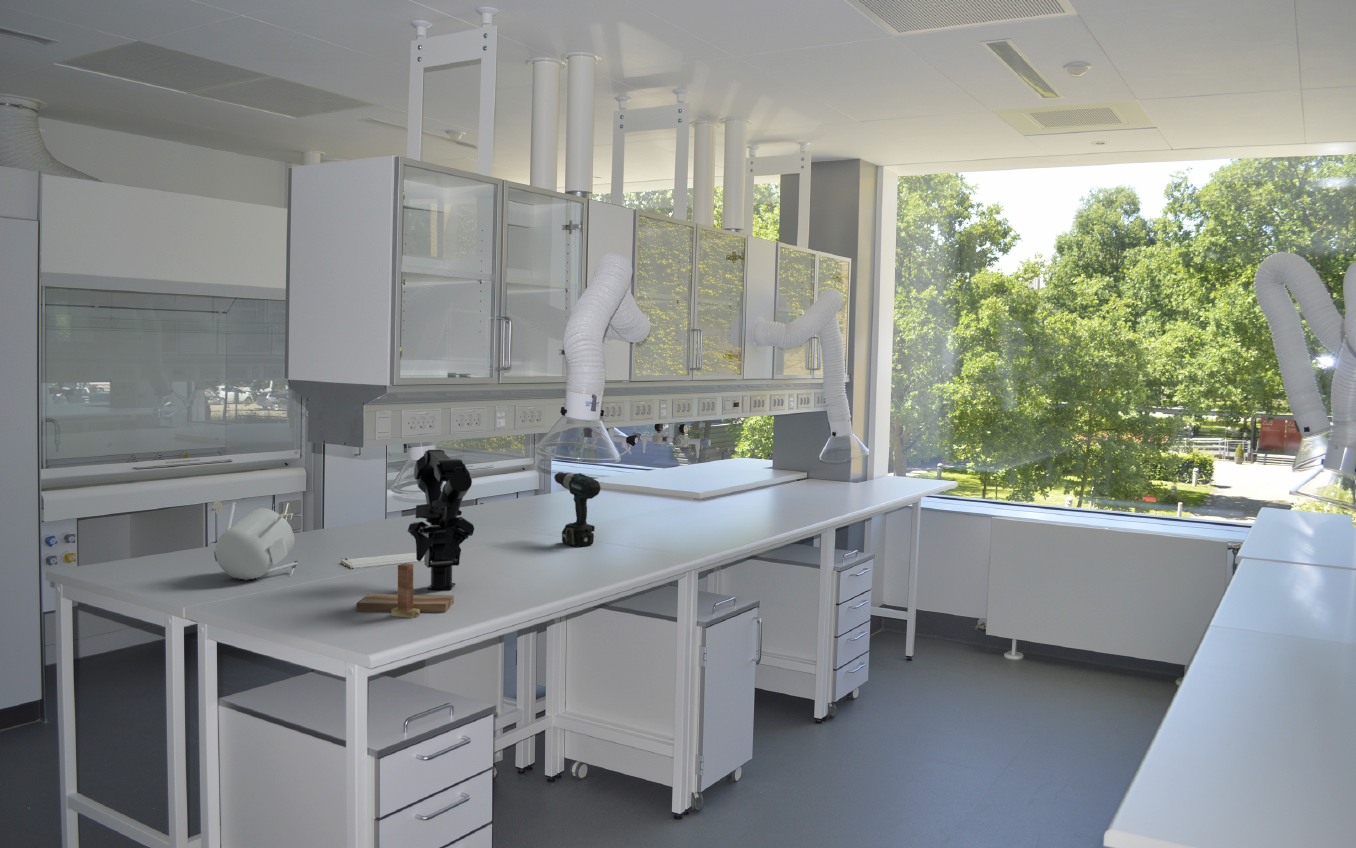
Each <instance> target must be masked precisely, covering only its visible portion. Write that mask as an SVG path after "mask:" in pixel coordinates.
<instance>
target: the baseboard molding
mask: <svg viewBox="0 0 1356 848" xmlns="http://www.w3.org/2000/svg"><path fill="white" fill-rule="evenodd" d="M424 556H425V555H424ZM340 562H343V563H344V564H345V565H344V564H343V565H344V566H346V565H347V566H349V567H350V568H349V567H348V568H349V569H351V568H356V569H361V568H360V567H366V568H375V567H374V566H376V567H384V565H385V566H393V565H400V564H402V563H406V564H414V563H423V562H424V557H423V558H422V560H421V561H418V560H417V557H416V552H411V553H410V552H409V553H400V554H399V553H398V554H388V555H378V556H367V557H359V558H358V557H357V558H346V557H345V558H343V559H341V560H340ZM424 563H425V562H424ZM347 566H346V567H347Z"/></svg>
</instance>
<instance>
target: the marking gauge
mask: <svg viewBox="0 0 1356 848" xmlns="http://www.w3.org/2000/svg"><path fill="white" fill-rule="evenodd" d="M397 595H398V607H397V608H394V609H392V610H391V611H390V612H391V614H390V615H391V616H392V617H398V618H409V619H413V618H416V617H419V616H420V613H421V612H420V609H414V608H413V595H414V563H404V564H397Z"/></svg>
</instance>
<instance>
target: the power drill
mask: <svg viewBox="0 0 1356 848" xmlns="http://www.w3.org/2000/svg"><path fill="white" fill-rule="evenodd" d="M553 478H554V481H555V483H556V484H559V485H561V486H562V487H563V488H564V489H567V490H568V491H569V494H571V495H573V502H574V509H575V515H576V516H575V517H576V521H575V522H570V523H567V524H565V526H564V528H563V530H562V531H561V542H562V543H563V544H565V545H567V544H568V545H567V546H571V547H576V546H580V547H585V546H586V547H587V546H591V545H593V544H594V541H595V540H594V539H595V538H596V536H595V535H594V532H595V530H596V529H595V525H592V524H589V523H588V522H587V518H588V505H587V502H588V499H589V500H591V499H594V498H595V497H597V496H598V495H599V494H600V492H601V485H600V482H599V481H598V480H596V479H595V478H593V477H591V476H589V475H586V474H583V473H581V472H578V473H573V472H563V471H559V472H557V473H555V474H554V477H553Z"/></svg>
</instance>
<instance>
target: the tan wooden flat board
mask: <svg viewBox="0 0 1356 848" xmlns="http://www.w3.org/2000/svg"><path fill="white" fill-rule="evenodd" d="M454 603H455V595H454V594H413V608H414V609H420V613H446V612H448V610H449V609H450V608H451V607H452V606H453V605H454ZM450 606H451V607H450ZM355 607H356V608H355V609H356V610H355V611H356V612H391V610H392V609H394V608H397V607H398V594H391V593H388V594H386V593H385V594H383V593H379V594H378V593H375V594H374V593H370V594H369V593H368V594H367V595H365V596H363V598H361V599H359V600H358V601H357V602H356V606H355Z"/></svg>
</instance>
